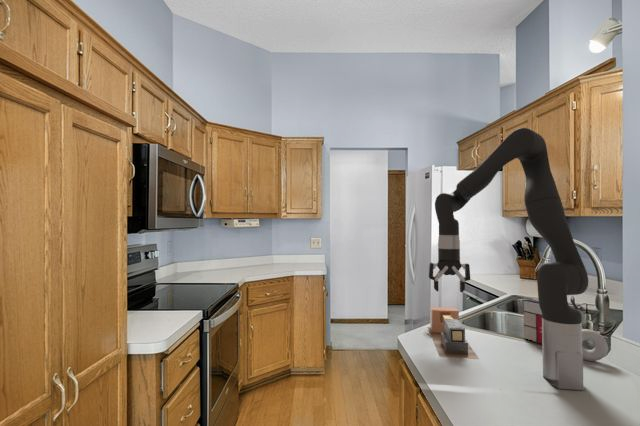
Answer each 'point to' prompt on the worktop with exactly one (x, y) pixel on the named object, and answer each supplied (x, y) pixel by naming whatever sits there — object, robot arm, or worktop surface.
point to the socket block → (441, 317)
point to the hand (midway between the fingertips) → (449, 291)
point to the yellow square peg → (454, 333)
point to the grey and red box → (532, 321)
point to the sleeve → (447, 341)
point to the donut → (599, 342)
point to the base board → (437, 341)
